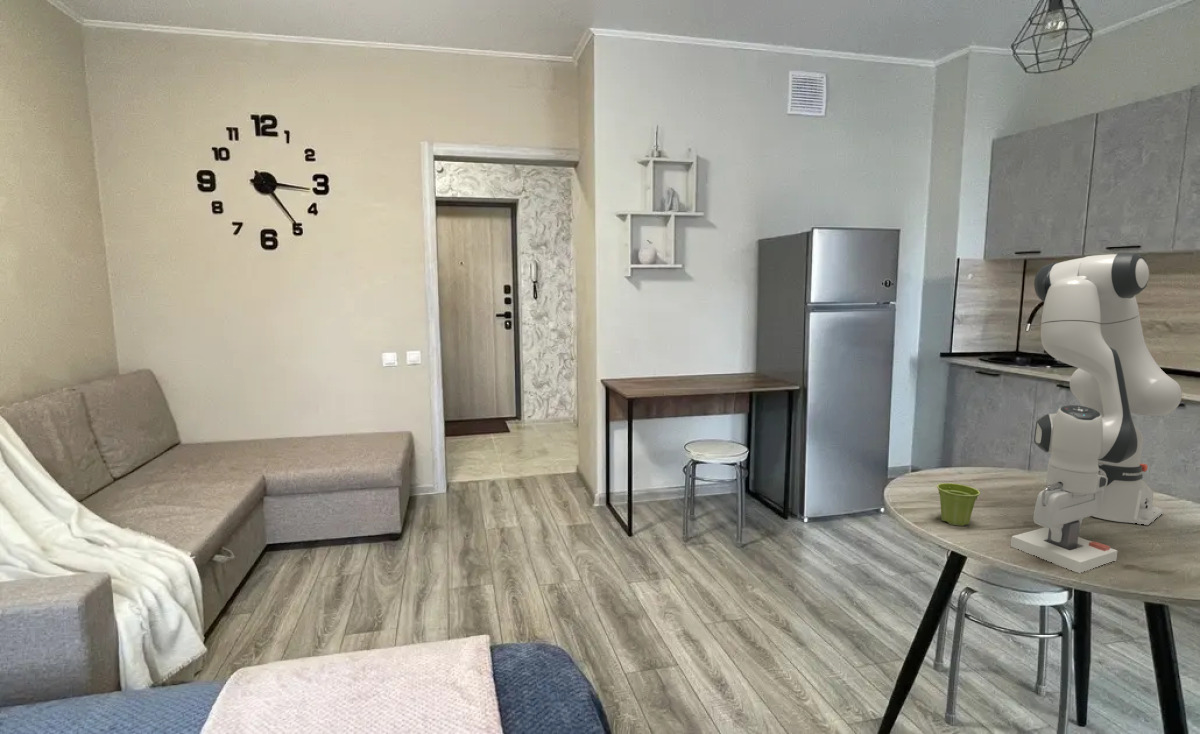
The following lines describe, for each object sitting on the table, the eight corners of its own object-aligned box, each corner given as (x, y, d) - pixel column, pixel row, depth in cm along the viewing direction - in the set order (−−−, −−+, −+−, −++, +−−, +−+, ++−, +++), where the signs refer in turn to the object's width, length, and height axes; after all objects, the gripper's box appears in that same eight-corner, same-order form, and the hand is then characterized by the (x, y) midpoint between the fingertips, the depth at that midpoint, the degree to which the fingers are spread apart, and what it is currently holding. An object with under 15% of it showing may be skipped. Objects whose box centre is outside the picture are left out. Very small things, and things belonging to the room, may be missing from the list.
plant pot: (931, 512, 159) (934, 480, 158) (972, 517, 155) (975, 485, 154) (936, 525, 150) (940, 492, 149) (980, 531, 147) (983, 497, 146)
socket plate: (1046, 536, 144) (1048, 523, 144) (1116, 561, 132) (1117, 547, 131) (1010, 546, 139) (1012, 533, 138) (1079, 573, 126) (1081, 559, 125)
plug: (1056, 544, 138) (1060, 515, 137) (1076, 551, 134) (1080, 521, 133) (1046, 547, 136) (1050, 518, 135) (1066, 554, 133) (1070, 524, 131)
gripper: (1061, 491, 125) (1053, 553, 127) (1112, 477, 134) (1104, 535, 136) (1028, 481, 131) (1021, 541, 133) (1079, 469, 140) (1072, 525, 142)
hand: (1063, 538), depth 135 cm, fingers open, 4 cm apart
